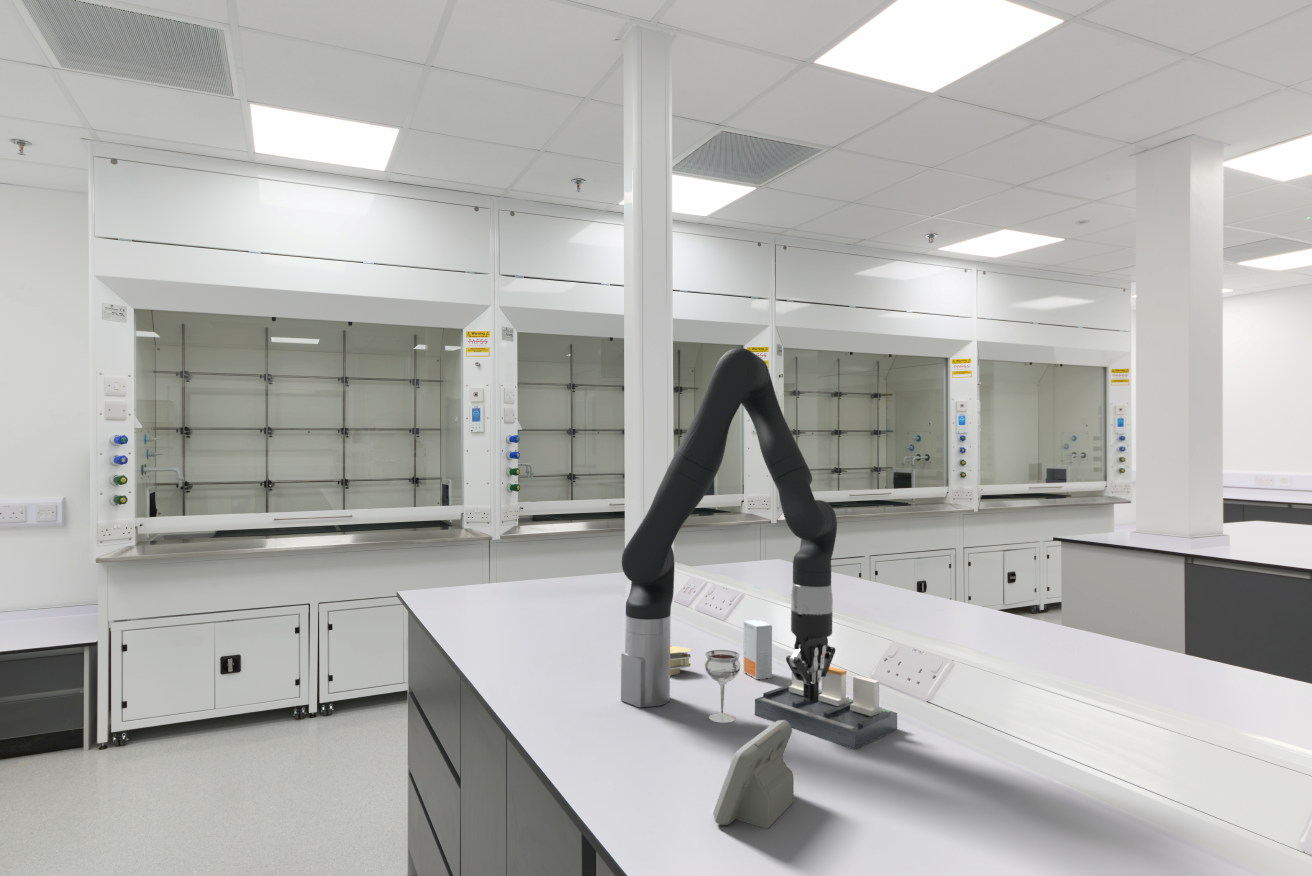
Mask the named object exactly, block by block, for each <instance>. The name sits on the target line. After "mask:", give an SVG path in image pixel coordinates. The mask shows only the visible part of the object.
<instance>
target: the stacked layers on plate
mask: <svg viewBox="0 0 1312 876" xmlns="http://www.w3.org/2000/svg"><path fill="white" fill-rule="evenodd" d="M688 652H691V648H689V647H683V646H678V645H672V646H671V645H670V677H671V676H674V675H678V673H679V674H680V673H681V669H684V668H690V667H691V663H690V658H691V654H690V653H688Z"/></svg>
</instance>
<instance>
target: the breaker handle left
mask: <svg viewBox="0 0 1312 876" xmlns="http://www.w3.org/2000/svg"><path fill="white" fill-rule="evenodd" d="M791 684H792V685H791V686H789V692H792V693H796V694H799V695H802V696H803V694H804V683H803V681H800V680H796V678H795V676H794V674H793V673H792V672H791Z"/></svg>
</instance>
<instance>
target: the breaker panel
mask: <svg viewBox="0 0 1312 876" xmlns="http://www.w3.org/2000/svg"><path fill="white" fill-rule="evenodd" d="M791 685H792V683H790V684H787V685H784V686H780V687H777V688H775V689H771V690H769V691H766V692H763V693H762V694H763V695H762V696H759V697H757V698H755V699H754V715H755V716H757V717H760V718H763V719H766V720H769V721H771V722H772V721H773V723H775V722H776V721H779V720H786V721H787V722H788V723H789V724H790V725H791V728H792V729H794V730H797V731H801V732H804V733H806V734H809V735H811V736H814V737H817V738H821V739H823V740H826V741H829V742H832V743H835V744H838V745H840V746H843V747H847V748H849V749H852V750H857V749H859V748H861V747H863V746H865V745H867V744H870V743H872V742H874V741H876V740H877V739H880V738H883V737H884V736H886V735H888V734H891V733H892V732H894V731H897V730H898V712H896V711H892V710H889V709H886V708H882V712H881V713H878V714H876V715H874V716H868V715H865V714H862V713H858V712H855V711H852V710H850V704H853V699H851V698H849V702H848V703H845V704H843V705H840V706H836V705H832V704H829V703H826V702H823V701H819V700H818V702H817V703H814V704H810V703H806V702H805V701H804V697H803V696H802V695H799V694H796V693H792V692H789V686H791ZM818 693H819V695H820V694H822V690H820V689H819V692H818Z"/></svg>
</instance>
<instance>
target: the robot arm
mask: <svg viewBox="0 0 1312 876" xmlns="http://www.w3.org/2000/svg"><path fill="white" fill-rule="evenodd" d="M741 405H742V406H743V408H744V410H745V411H746V412H747V415H748V416H749V418H750V419H751V421H752V424H753V427H754V429H755V432H756V435H757V440H758V443H759V447H760V448H759V449H760V452H761V456H762V458H763V460H764V463H765V466H766V468H767V470H768V472H769V474H770V477H771V479H772V481H773V483H774V484H775V487H776V489H777V490H778V495H779V501H780V507H781V510H782V513H783V517H784V519H785V522H786V524H787V526H788V528H789V529H790V531H791V533H792V534H793V535H794V536H795V537H797V538H798V539H800V547H799V550H798V551H797V552H796V553H795V555H794V557H793V559H792V588H791V594H790V603H791V604H790V632H791V633H792V634H793V635H794V637H795V642H794V647H793V648H794V652H793V653H792V655H787V656H786V657H785V661H786V663H787V665H788V667H789V669H790V670H791V674H792V673H793V674H794V676H795V678H796V680H800V681H803V683H804V694H803V697H804V701H805V702H806V703H810V704H814V703H817V702H818V697H819V693H818V692H819V690H820V688H819V687H820V682H822V676H823V677H825V676H826V674H827V672H828V669H829V667H831V664H832V661H833V658H834V656H835V654H836V648H835V646H831V645H829V639H828V638H829V637H831V636H832V634H833V592H832V591H833V590H832V557H833V553H834V549H835V545H836V544H835V543H836V537H837V531H838V520H837V515H836V512H835V510H834V508H833V507H832V505H831V504H830V503H828V502H827V501H826V500H825V501H824V500H820V499H815V497H814V494H813V490H812V488H811V484H812V482H813V475H812V472H811V470H810V467H809V466H808V463H807V462H806V459H805V458H804V456H803V454H802V452H801V449H800V447H799V445H798V444H797V441H796V440H795V437H794V436H793V434H792V432H791V430H790V428H789V426H788V422H787V421H786V419H785V417H784V415H783V412H782V409H781V407H780V404H779V401H778V398H777V395H776V392H775V387H774V385H773V381H772V377H771V372H770V369H769V367H768V365H767V363H766V362H765V361H764V360H763V358H762V357H760V356H758V355H757V354H755V353H754V352H753V351H751V350H749V349H747V348H745V347H734V348H732V349H729V350H728V351H726V352H725V353H724V354H722V356H721V357H720V358H719V359H718V361H717V363H716V365H715V367H714V370H713V373H712V375H711V377H710V381H709V383H708V385H707V388H706V391H705V392H704V395H703V398H702V400H701V403H700V404H699V407H698V409H697V412H696V413H695V415H694V416H693V419H692V421H691V422H690V425H688V426H689V427H688V428H687V431H686V432H685V435H684V436H683V438H682V440H681V442H680V444H679V445H678V447H677V449H676V451H675V453H674V455H673V457H672V459H671V461H670V463H669V465H668V467H667V469H666V471H665V474H664V476H663V478H662V480H661V482H660V484H659V486H658V488H657V491H656V493H655V496H654V497H653V501H652V503H651V505H650V507H649V510H648V511H647V513H646V514H645V516H644V517H643V520H642V521H641V523H640V525H638V528H637V529H636V530H635V532H634V533H633V535H632V537H630V540H629V541H628V542H627V544H626V545H625V548H624V549H623V552H622V556H621V567H622V571H623V573H624V576H626V578H627V579H628V580H629V581H631V582H630V583H631V584H630V585H631V586H630V591H629V595H628V597H627V600H626V602H625V633H624V634H625V636H624V637H625V638H624V639H625V640H624V642H625V643H624V652H622V653H621V657H620V661H621V663H620V667H621V668H620V701H622V702H624V703H627V704H629V705H632V706H635V707H638V708H639V709H640V708H645V707H647V708H648V707H657V706H658V707H659V706H663V705H665V704H667V703H669V701H670V699H671V676H670V646H671V625H672V624H671V613H672V612H671V608H672V603H673V599H674V591H675V590H674V589H675V554H674V550H673V547H672V546H673V544H674V542H675V539H676V537H677V535H678V534H679V531H680V530H681V527H683V525H684V523H685V522H686V520H688V519H689V517H690V516H691V515H692V513H693V512H694V510H695V509H696V508H697V507H698V506H699V504H700V503H701V501H702V500H703V498H704V497H705V495H706V494H707V492H708V491H709V489H710V487H711V485H713V484H712V483H713V481H714V479H715V478H716V477H717V474H718V472H719V470H720V468H721V465H722V462H723V460H724V456H725V452H726V451H725V450H726V445H727V440H728V434H729V431H730V427H731V425H732V421H733V419H734V418H735V415H736V414H737V411H738V410H739V409H740V406H741Z"/></svg>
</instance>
